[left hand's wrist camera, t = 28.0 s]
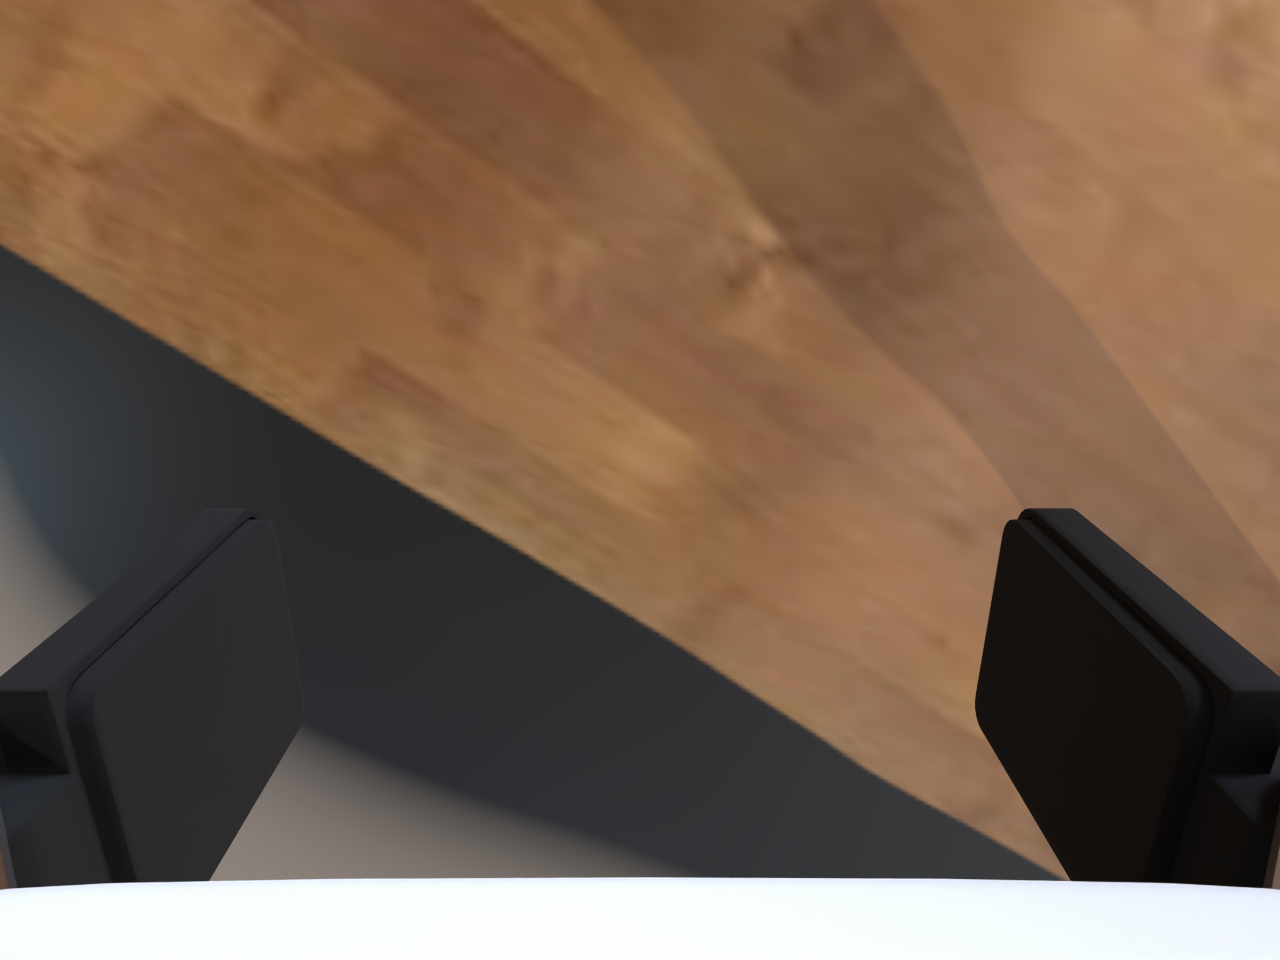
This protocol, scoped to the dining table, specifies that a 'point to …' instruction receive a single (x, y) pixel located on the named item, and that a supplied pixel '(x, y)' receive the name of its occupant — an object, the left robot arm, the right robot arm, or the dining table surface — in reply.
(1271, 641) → the dining table surface
